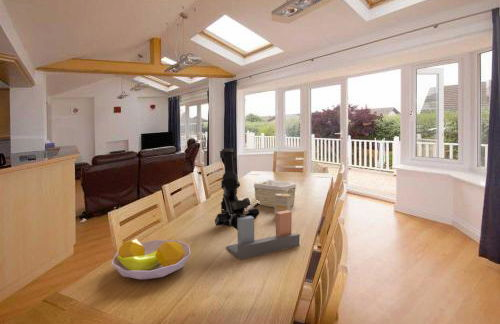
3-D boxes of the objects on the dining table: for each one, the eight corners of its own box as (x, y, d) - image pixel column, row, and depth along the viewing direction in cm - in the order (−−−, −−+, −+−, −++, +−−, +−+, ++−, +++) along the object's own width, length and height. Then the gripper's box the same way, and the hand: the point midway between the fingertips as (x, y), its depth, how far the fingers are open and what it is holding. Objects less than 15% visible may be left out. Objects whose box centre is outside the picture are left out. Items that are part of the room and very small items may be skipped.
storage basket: (252, 204, 194) (252, 182, 193) (267, 199, 206) (267, 179, 205) (282, 210, 179) (282, 186, 177) (297, 205, 191) (297, 182, 189)
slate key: (237, 249, 119) (236, 217, 117) (250, 246, 122) (250, 215, 120) (241, 252, 116) (240, 220, 114) (254, 249, 119) (254, 217, 117)
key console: (226, 247, 123) (226, 236, 123) (282, 236, 136) (282, 225, 136) (239, 259, 112) (239, 247, 111) (299, 245, 125) (299, 234, 124)
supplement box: (291, 217, 165) (291, 194, 163) (287, 219, 161) (287, 196, 159) (278, 215, 169) (278, 192, 168) (274, 217, 165) (274, 194, 164)
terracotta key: (275, 241, 126) (275, 212, 125) (286, 238, 129) (286, 210, 128) (279, 244, 123) (279, 214, 122) (291, 241, 126) (291, 212, 125)
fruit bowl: (162, 248, 124) (161, 222, 122) (206, 266, 107) (205, 236, 105) (93, 274, 102) (90, 242, 101) (134, 302, 85) (132, 265, 84)
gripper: (216, 194, 118) (228, 229, 110) (257, 189, 127) (270, 221, 118) (210, 209, 126) (220, 242, 117) (249, 203, 134) (261, 234, 126)
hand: (243, 234), depth 119 cm, fingers closed, pressing on slate key
